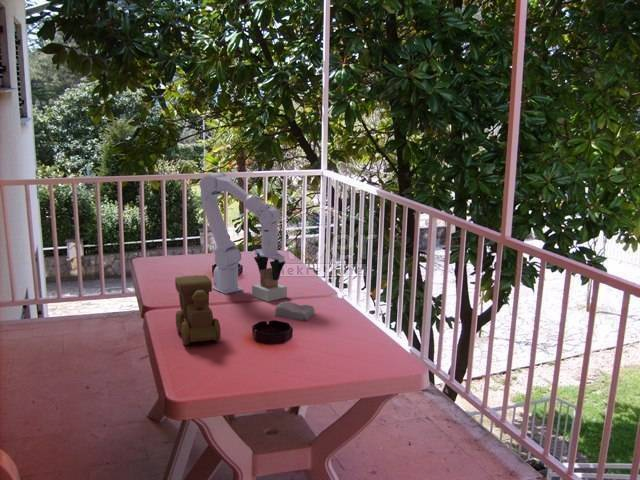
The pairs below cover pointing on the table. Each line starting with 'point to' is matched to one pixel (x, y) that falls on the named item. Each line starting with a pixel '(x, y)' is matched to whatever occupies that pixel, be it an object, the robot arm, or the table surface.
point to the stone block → (294, 311)
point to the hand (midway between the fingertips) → (269, 277)
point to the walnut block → (267, 278)
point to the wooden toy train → (195, 310)
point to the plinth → (269, 292)
